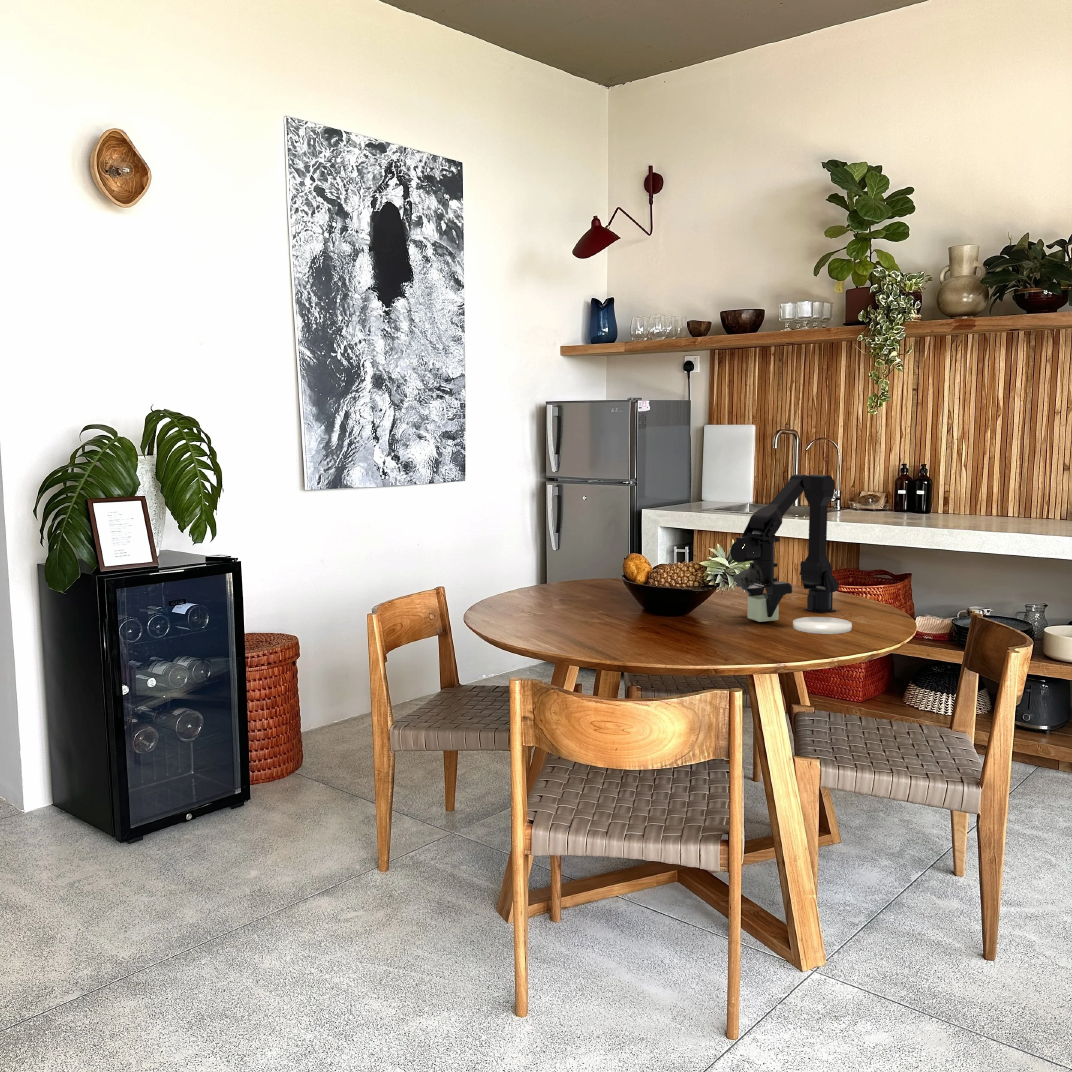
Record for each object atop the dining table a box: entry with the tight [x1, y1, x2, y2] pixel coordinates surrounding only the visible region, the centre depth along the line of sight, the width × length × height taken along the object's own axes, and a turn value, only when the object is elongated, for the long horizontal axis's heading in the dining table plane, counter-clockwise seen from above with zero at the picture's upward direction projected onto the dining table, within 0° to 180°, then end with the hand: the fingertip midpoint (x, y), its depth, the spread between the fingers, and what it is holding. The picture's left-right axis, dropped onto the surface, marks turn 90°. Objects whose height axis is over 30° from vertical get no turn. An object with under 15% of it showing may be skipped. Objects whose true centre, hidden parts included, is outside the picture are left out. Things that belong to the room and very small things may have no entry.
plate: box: [792, 616, 853, 635], centre depth 259 cm, size 15×15×2 cm
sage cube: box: [746, 595, 780, 623], centre depth 268 cm, size 6×6×6 cm
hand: (762, 615), depth 269 cm, fingers closed on sage cube, 6 cm apart
